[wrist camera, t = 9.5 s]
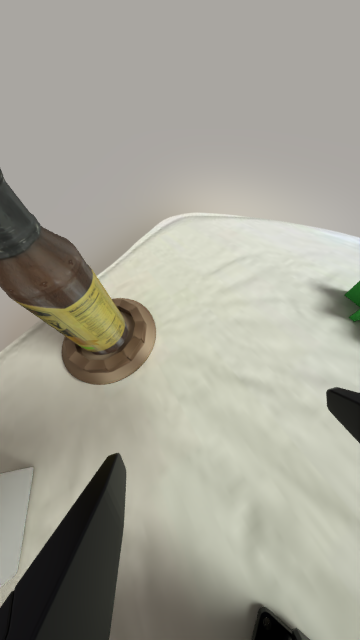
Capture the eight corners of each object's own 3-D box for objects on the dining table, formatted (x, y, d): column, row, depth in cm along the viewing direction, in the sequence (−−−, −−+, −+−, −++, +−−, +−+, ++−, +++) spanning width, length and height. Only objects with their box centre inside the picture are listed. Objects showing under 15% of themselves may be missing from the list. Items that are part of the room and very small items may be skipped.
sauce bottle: (79, 333, 26) (-145, 148, 9) (118, 310, 27) (-10, 116, 11) (96, 368, 23) (-191, 193, 6) (139, 340, 24) (6, 138, 8)
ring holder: (114, 405, 21) (106, 403, 19) (45, 354, 25) (34, 348, 24) (173, 320, 26) (171, 313, 25) (108, 289, 31) (103, 281, 29)
